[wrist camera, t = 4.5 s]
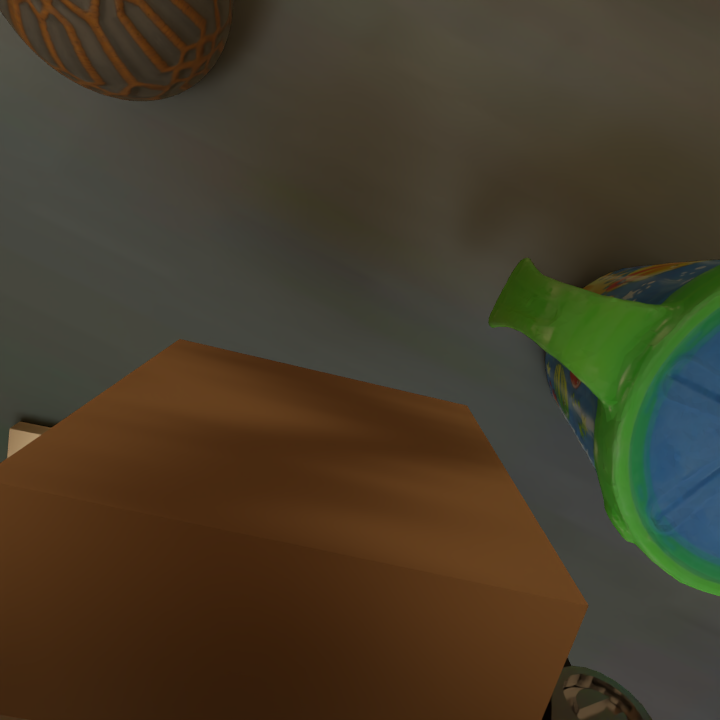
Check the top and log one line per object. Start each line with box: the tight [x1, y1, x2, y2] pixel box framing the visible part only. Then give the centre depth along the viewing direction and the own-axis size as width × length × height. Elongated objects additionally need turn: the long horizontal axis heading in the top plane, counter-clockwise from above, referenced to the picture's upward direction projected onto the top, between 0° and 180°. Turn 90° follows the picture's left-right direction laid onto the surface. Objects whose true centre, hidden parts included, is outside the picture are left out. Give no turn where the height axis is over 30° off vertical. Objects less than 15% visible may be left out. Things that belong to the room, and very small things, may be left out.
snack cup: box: [488, 258, 720, 596], centre depth 20 cm, size 16×11×10 cm
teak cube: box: [0, 339, 588, 720], centre depth 9 cm, size 6×6×6 cm
